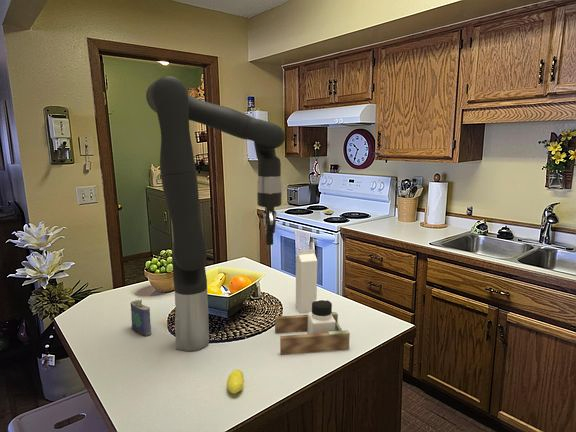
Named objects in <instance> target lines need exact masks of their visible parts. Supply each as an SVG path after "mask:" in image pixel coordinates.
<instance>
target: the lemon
mask: <svg viewBox="0 0 576 432" xmlns="http://www.w3.org/2000/svg"><path fill="white" fill-rule="evenodd" d="M244 383H245V379H244V373H243V371H242V370H241V369H234V370H232V371H231V372H230V373H229V375H228V377H227V380H226V387H227V389H228V391H229V392H230V393H231V394H233V395H234V394H238V392H240V391H242V390H243V388H244Z"/></svg>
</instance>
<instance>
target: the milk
mask: <svg viewBox="0 0 576 432" xmlns="http://www.w3.org/2000/svg"><path fill="white" fill-rule="evenodd" d="M317 294H318V259H317V256H316V250H315V249H304V250H303V249H301V250H298V255H296V258H295V308H296V309H297V310H298V312H299V313H300V314H307V313H312V302H313V301H315V300H318V299H317Z"/></svg>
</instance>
